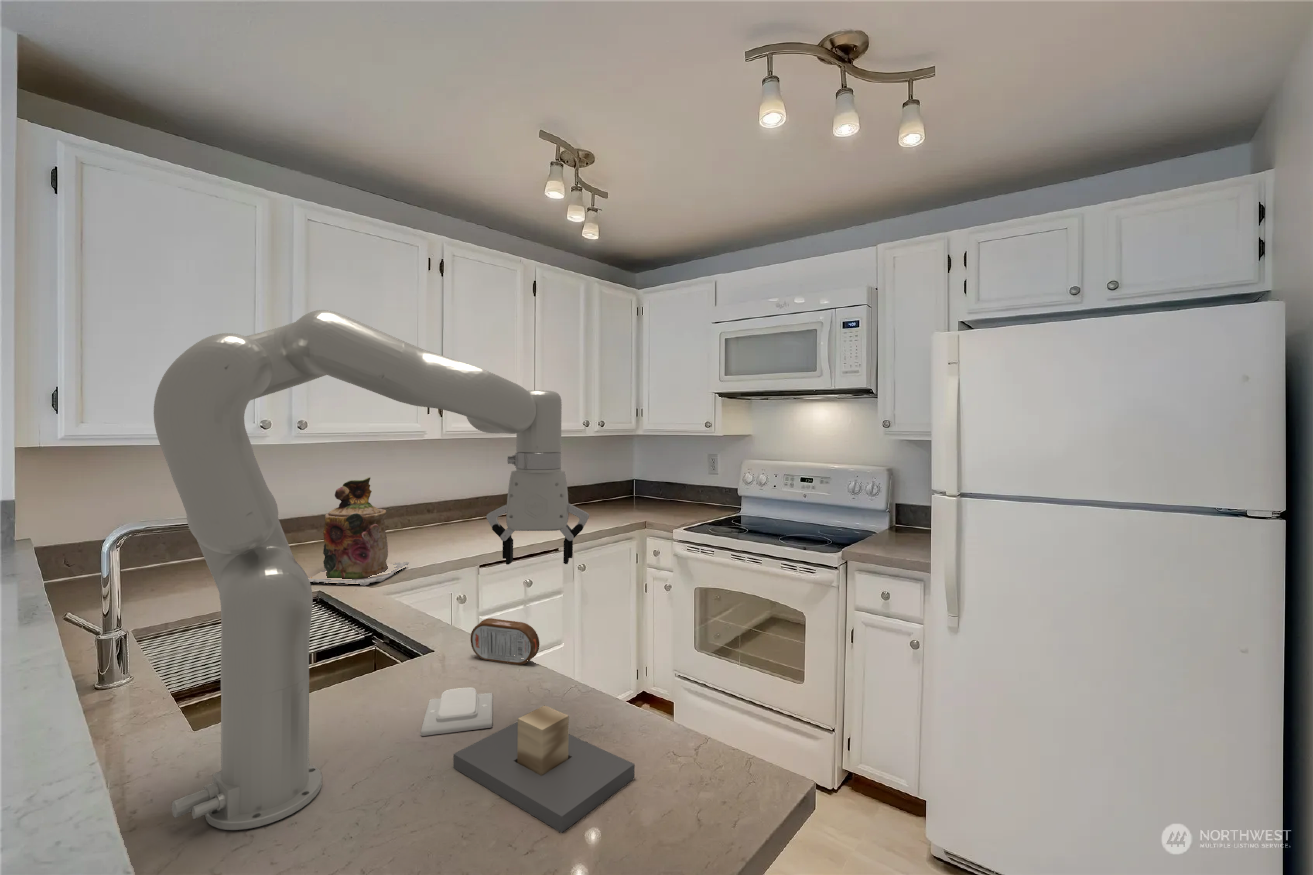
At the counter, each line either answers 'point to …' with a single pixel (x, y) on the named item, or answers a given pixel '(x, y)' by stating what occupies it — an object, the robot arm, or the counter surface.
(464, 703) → the light switch
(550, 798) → the grey plate with hole
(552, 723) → the beige rectangular block
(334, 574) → the cookie jar
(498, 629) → the tin
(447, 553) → the counter surface
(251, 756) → the robot arm
